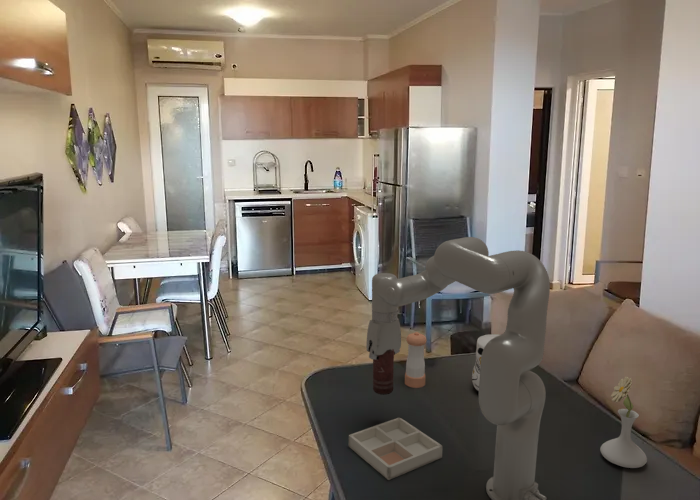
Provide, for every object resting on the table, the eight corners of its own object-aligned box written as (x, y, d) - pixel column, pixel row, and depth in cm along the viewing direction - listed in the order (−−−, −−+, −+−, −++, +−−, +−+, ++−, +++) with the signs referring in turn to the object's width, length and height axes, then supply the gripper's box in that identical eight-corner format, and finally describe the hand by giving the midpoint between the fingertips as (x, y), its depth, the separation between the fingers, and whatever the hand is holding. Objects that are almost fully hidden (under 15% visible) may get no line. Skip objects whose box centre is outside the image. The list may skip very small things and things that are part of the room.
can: (392, 396, 159) (393, 351, 156) (371, 394, 160) (371, 349, 158) (395, 387, 165) (395, 343, 162) (374, 385, 166) (374, 342, 163)
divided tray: (442, 457, 146) (442, 445, 146) (388, 480, 136) (388, 467, 136) (399, 427, 161) (399, 417, 161) (348, 446, 151) (348, 435, 150)
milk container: (461, 384, 191) (464, 336, 187) (502, 377, 197) (505, 330, 193) (490, 406, 175) (493, 354, 171) (533, 398, 181) (538, 347, 177)
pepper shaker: (428, 386, 189) (431, 334, 185) (410, 389, 187) (412, 337, 183) (418, 377, 196) (420, 327, 192) (401, 380, 193) (402, 330, 189)
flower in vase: (605, 443, 154) (615, 361, 149) (650, 458, 147) (661, 373, 142) (592, 464, 144) (602, 377, 139) (639, 481, 137) (651, 390, 132)
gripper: (396, 308, 165) (396, 364, 168) (356, 316, 157) (356, 375, 160) (412, 314, 159) (411, 372, 162) (371, 323, 151) (371, 384, 154)
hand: (384, 374), depth 161 cm, fingers closed
